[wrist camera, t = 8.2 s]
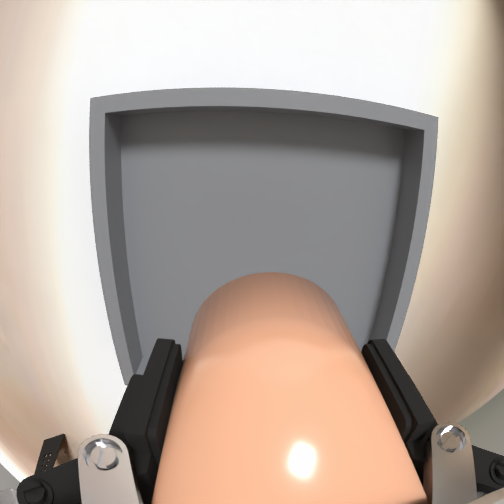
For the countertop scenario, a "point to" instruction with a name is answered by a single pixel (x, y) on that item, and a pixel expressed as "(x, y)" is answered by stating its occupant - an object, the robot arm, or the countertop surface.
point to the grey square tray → (254, 204)
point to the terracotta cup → (279, 406)
